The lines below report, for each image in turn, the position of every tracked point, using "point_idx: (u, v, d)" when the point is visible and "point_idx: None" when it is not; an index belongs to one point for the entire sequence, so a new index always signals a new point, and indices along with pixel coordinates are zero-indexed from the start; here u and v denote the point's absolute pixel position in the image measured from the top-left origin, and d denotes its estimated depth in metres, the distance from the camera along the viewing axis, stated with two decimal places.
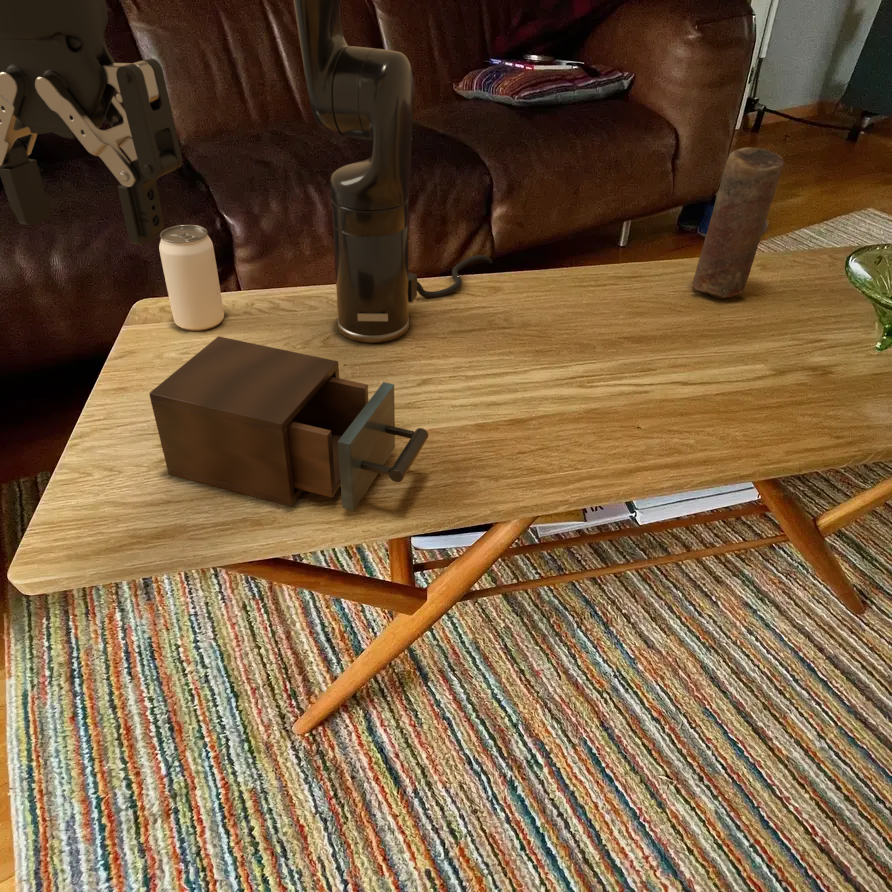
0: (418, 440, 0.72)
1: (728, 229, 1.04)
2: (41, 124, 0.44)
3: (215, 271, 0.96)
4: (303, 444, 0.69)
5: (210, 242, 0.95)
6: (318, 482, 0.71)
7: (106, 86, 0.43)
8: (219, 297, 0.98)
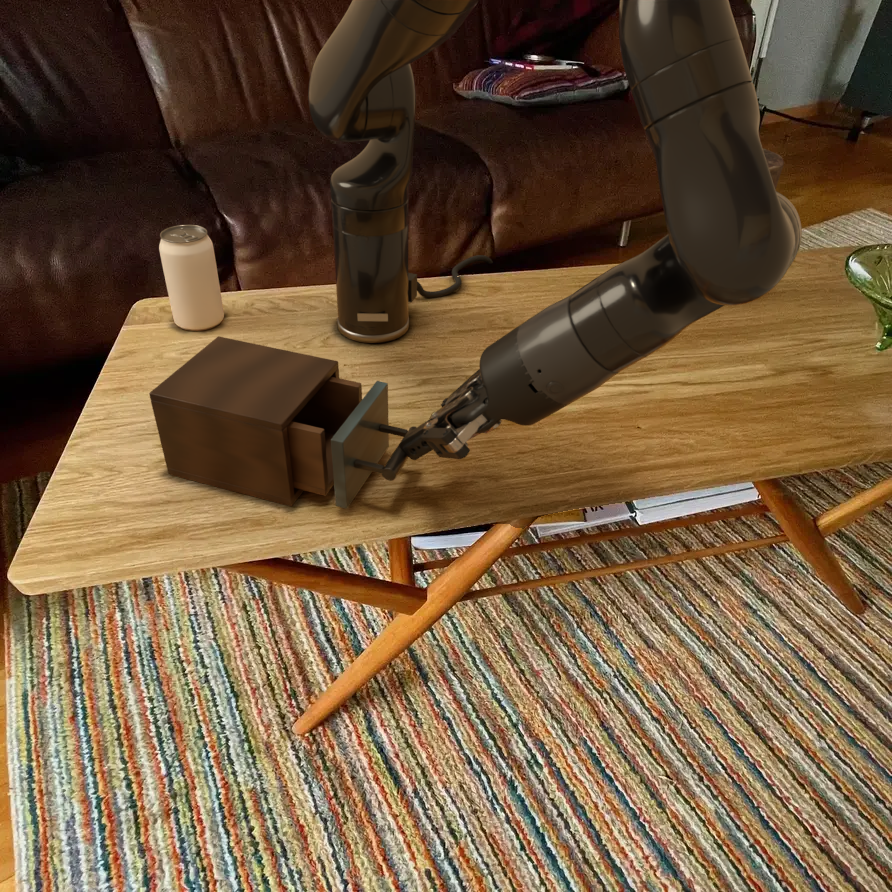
0: None
1: None
2: None
3: (215, 271, 0.96)
4: (296, 442, 0.69)
5: (210, 242, 0.95)
6: (311, 480, 0.71)
7: None
8: (219, 297, 0.98)
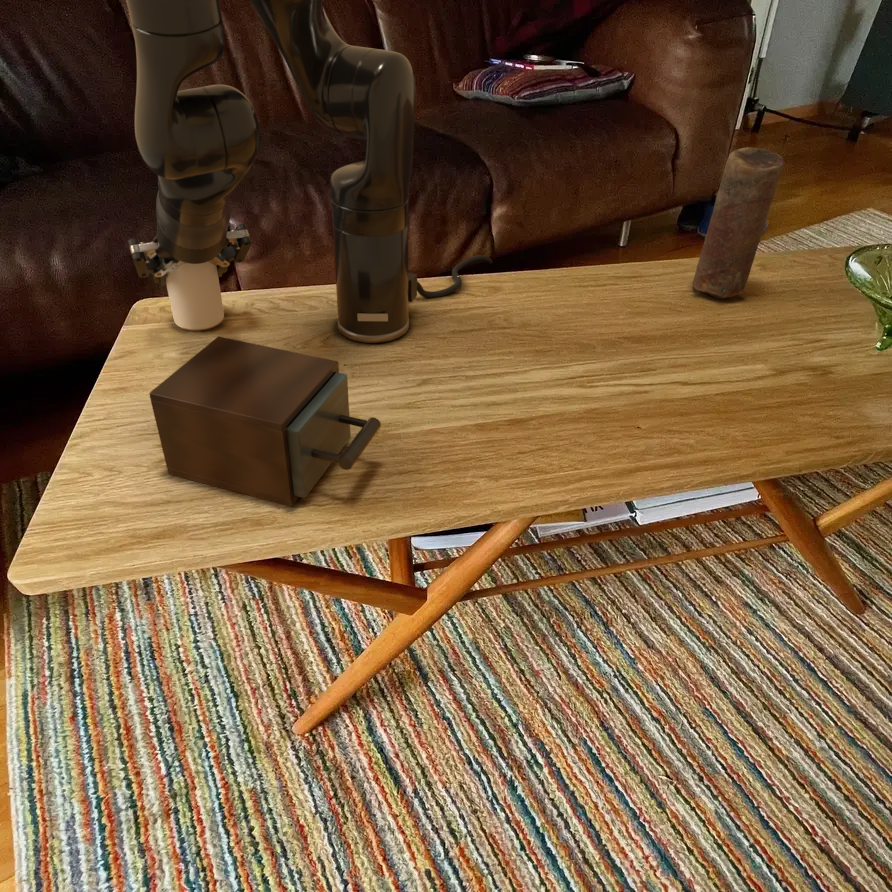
0: (369, 429, 0.73)
1: (728, 229, 1.04)
2: None
3: (215, 271, 0.96)
4: None
5: None
6: None
7: None
8: (219, 297, 0.98)
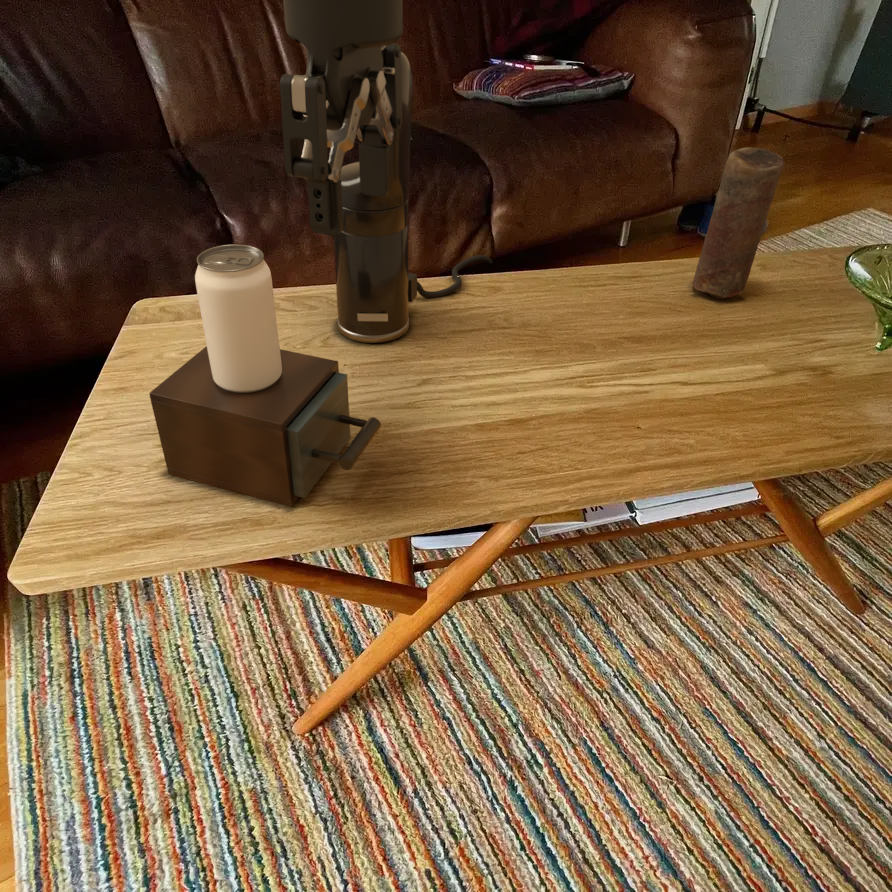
0: (369, 429, 0.73)
1: (728, 229, 1.04)
2: (359, 120, 0.52)
3: None
4: None
5: None
6: None
7: None
8: None
